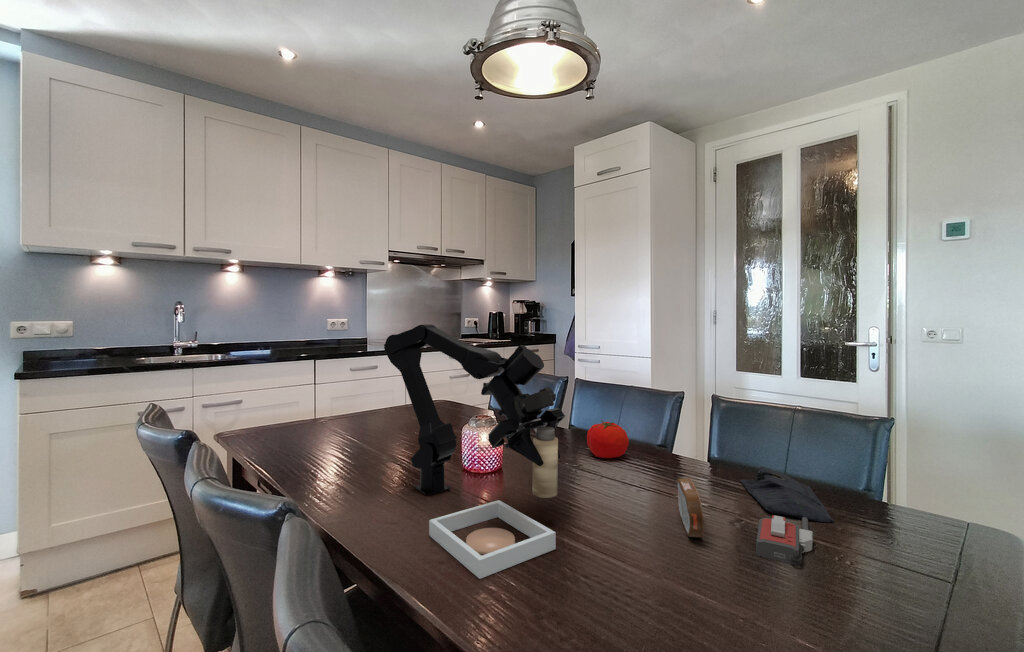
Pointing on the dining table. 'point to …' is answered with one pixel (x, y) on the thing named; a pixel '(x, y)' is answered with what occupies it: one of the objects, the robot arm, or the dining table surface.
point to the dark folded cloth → (786, 496)
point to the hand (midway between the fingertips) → (550, 461)
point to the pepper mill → (546, 463)
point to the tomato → (607, 440)
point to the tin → (690, 508)
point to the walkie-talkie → (783, 539)
